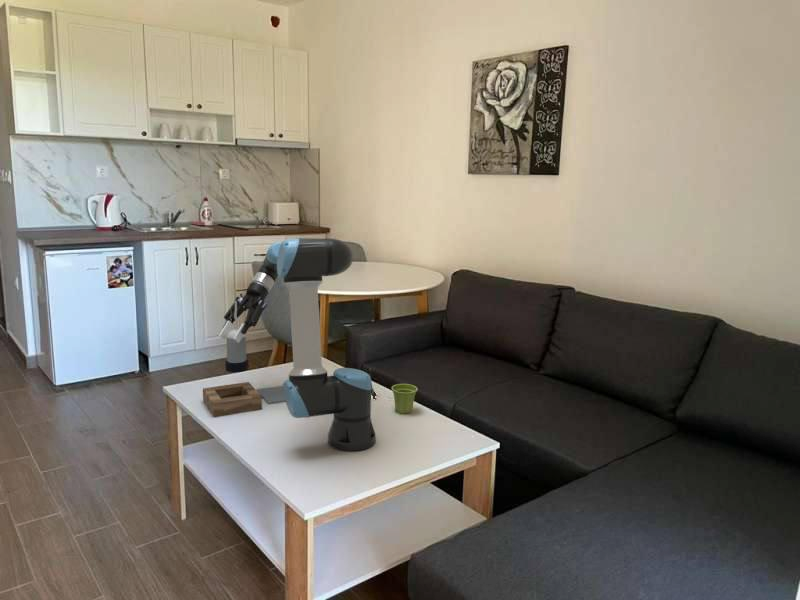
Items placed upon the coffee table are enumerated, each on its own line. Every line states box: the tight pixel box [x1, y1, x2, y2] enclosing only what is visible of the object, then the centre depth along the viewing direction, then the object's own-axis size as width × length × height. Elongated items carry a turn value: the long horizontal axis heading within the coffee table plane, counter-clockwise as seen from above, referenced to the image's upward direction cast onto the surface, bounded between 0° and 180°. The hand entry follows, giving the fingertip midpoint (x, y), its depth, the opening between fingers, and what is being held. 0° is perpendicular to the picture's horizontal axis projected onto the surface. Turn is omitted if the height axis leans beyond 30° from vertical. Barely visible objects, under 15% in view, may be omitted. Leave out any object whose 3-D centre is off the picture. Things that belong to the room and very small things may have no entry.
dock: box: [202, 381, 263, 418], centre depth 213 cm, size 17×17×5 cm
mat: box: [255, 384, 286, 405], centre depth 226 cm, size 16×16×1 cm
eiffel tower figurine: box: [368, 365, 392, 401], centre depth 224 cm, size 15×10×13 cm
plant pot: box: [391, 383, 418, 415], centre depth 212 cm, size 9×9×9 cm
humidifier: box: [225, 300, 250, 373], centre depth 210 cm, size 8×8×25 cm
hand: (228, 339), depth 207 cm, fingers closed on humidifier, 6 cm apart
